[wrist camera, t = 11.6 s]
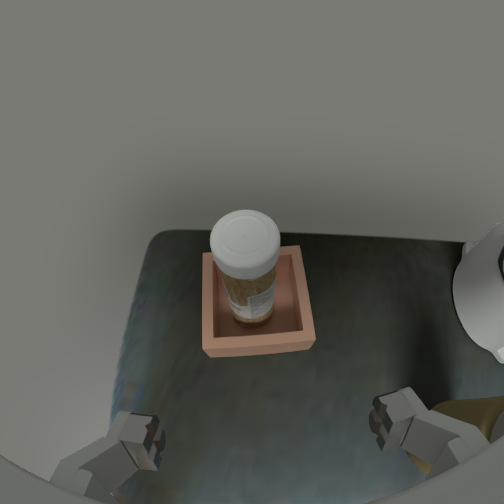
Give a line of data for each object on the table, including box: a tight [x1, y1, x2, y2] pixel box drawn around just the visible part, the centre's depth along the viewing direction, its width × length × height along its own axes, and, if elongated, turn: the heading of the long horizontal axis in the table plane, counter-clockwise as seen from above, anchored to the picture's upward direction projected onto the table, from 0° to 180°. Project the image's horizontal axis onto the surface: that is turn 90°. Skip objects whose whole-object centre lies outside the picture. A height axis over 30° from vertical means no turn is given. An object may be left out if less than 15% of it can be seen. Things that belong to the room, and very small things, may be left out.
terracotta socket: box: [202, 245, 316, 357], centre depth 28 cm, size 10×10×4 cm
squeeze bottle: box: [407, 396, 504, 474], centre depth 12 cm, size 8×8×18 cm
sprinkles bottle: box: [210, 210, 280, 329], centre depth 23 cm, size 5×5×14 cm
